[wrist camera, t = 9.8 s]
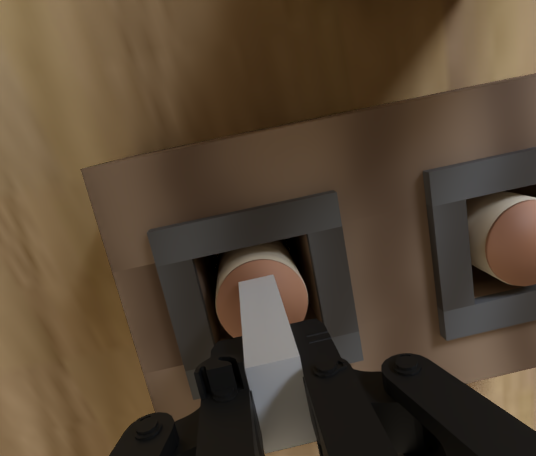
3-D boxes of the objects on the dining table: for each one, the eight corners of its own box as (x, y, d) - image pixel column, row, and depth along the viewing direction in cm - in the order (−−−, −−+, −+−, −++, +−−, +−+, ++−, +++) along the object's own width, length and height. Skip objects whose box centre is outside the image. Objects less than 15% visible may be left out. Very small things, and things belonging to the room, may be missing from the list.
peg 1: (230, 209, 25) (231, 247, 17) (292, 229, 26) (322, 274, 18) (211, 270, 26) (203, 333, 18) (271, 287, 27) (291, 356, 19)
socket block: (184, 365, 28) (166, 464, 20) (126, 157, 25) (75, 170, 16) (525, 286, 29) (646, 349, 21) (514, 77, 26) (653, 51, 17)
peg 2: (421, 169, 26) (511, 186, 18) (476, 188, 27) (588, 214, 18) (396, 229, 27) (472, 273, 18) (451, 247, 27) (548, 297, 19)
